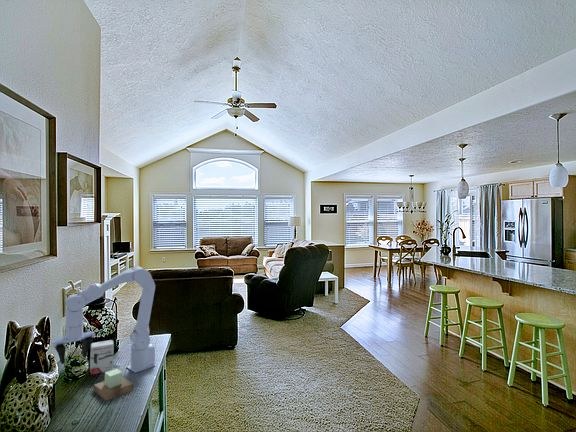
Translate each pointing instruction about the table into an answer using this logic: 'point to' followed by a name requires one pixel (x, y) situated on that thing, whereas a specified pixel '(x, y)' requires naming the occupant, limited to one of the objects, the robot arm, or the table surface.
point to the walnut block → (113, 389)
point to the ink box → (101, 357)
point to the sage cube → (113, 378)
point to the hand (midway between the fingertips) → (73, 359)
